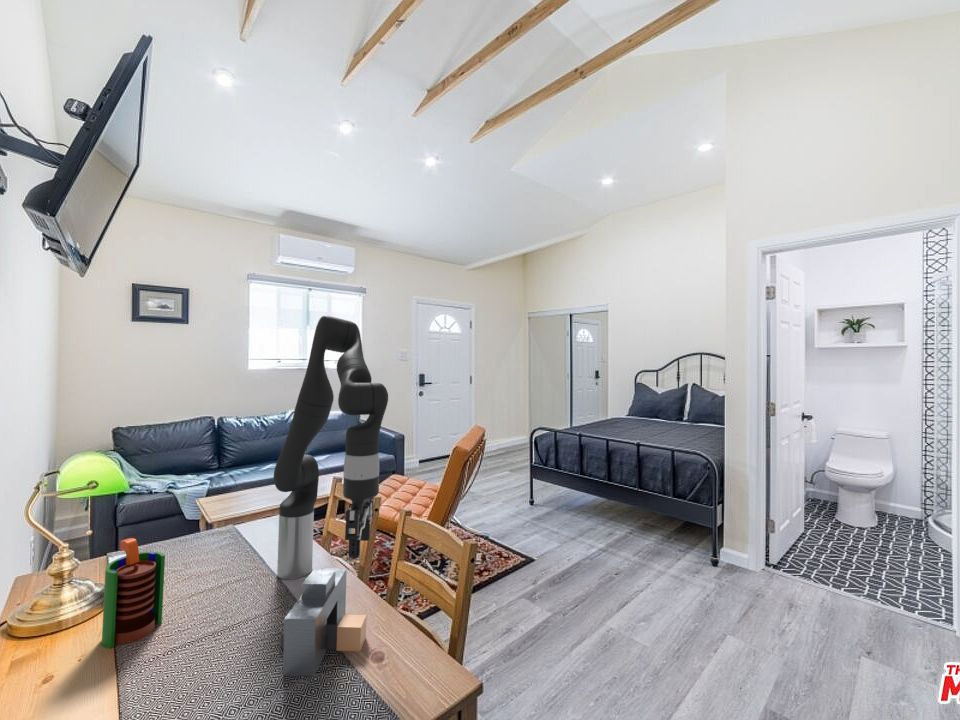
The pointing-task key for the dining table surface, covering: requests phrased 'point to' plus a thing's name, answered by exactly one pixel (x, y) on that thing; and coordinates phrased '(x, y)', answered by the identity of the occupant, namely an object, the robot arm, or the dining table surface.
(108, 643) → the motor
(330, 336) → the robot arm
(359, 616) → the plug
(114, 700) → the dining table surface
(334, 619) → the housing
